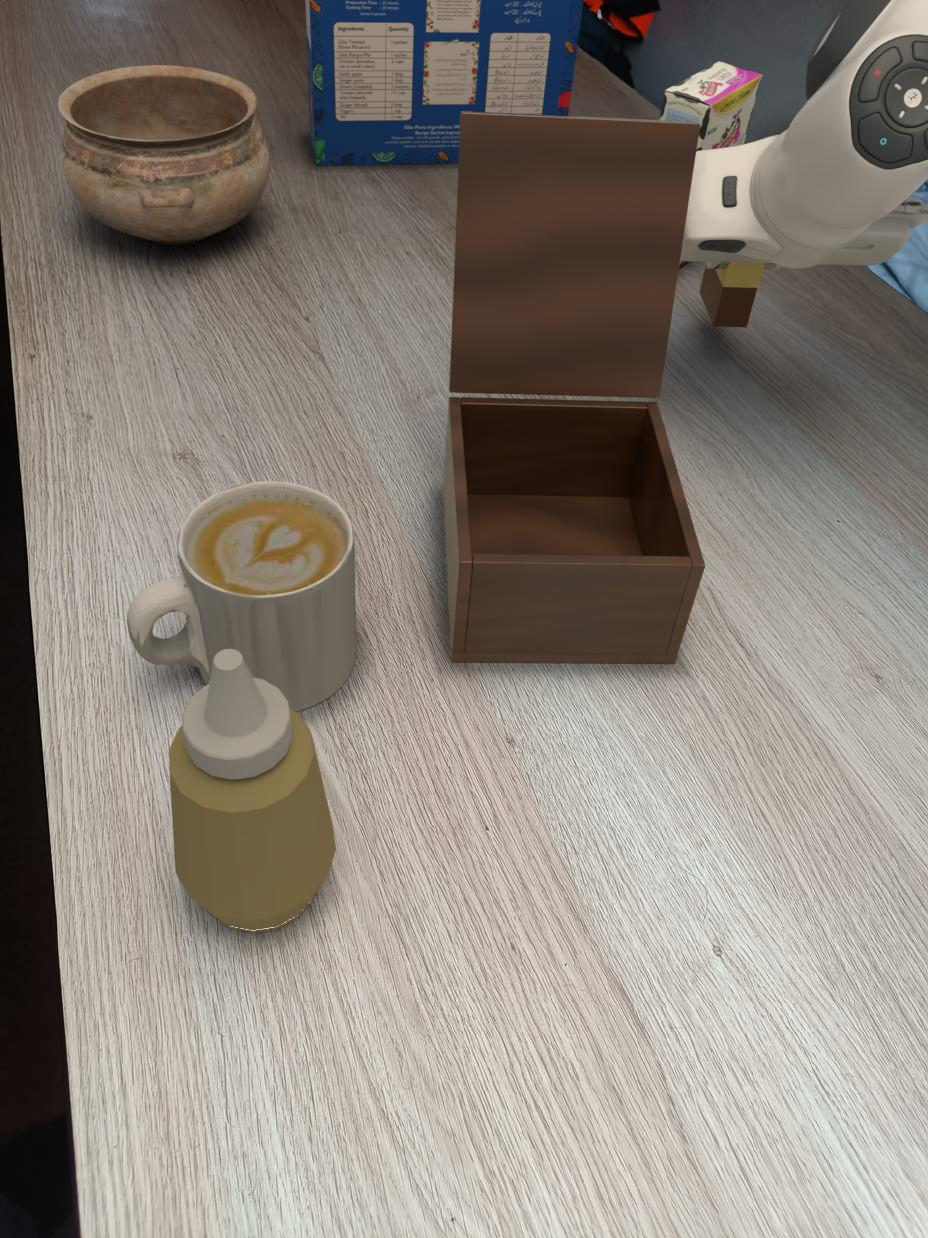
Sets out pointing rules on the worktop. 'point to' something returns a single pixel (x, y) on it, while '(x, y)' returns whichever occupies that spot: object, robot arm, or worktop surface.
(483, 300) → the chest lid
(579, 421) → the chest
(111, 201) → the cooking pot
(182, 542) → the coffee mug
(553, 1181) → the worktop surface
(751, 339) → the worktop surface
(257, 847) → the squeeze bottle
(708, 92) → the candy bar box
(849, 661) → the worktop surface
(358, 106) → the pasta box
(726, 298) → the chocolate bar
